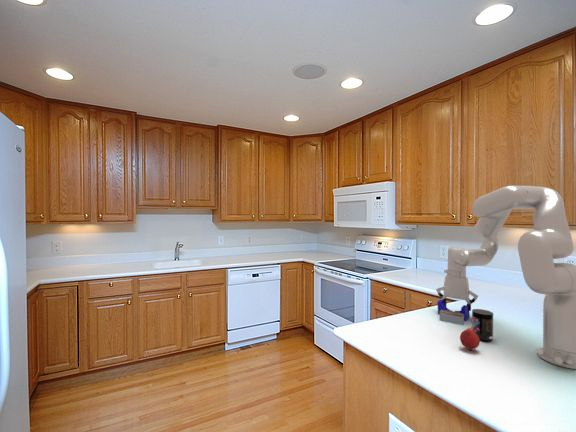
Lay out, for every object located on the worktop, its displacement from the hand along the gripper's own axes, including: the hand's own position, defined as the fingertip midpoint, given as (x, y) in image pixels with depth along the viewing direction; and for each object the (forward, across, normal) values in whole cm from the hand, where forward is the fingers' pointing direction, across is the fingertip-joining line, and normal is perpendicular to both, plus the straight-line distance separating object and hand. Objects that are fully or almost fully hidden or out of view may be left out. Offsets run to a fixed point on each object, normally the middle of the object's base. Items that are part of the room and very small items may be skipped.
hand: (456, 309), depth 135 cm
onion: (+2, +12, -37) cm, 39 cm away
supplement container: (+2, +14, -23) cm, 27 cm away
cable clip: (+2, 0, -2) cm, 3 cm away
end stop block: (+2, 0, -11) cm, 11 cm away
